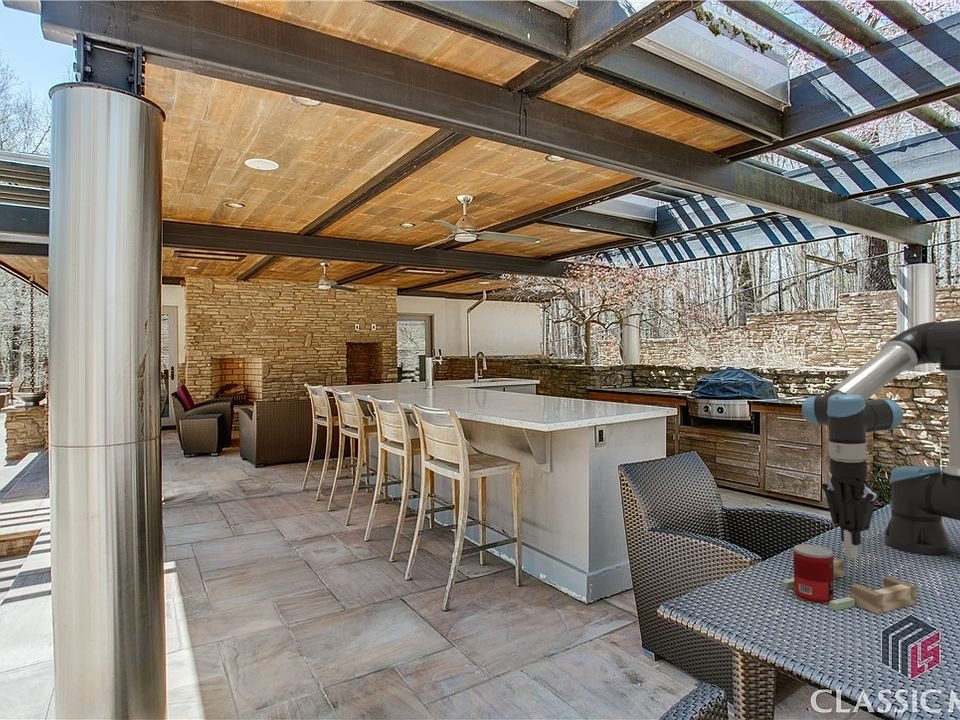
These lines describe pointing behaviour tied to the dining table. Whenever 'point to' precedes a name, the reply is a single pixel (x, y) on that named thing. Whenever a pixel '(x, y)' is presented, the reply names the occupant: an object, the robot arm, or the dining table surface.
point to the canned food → (813, 573)
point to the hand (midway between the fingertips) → (851, 556)
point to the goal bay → (833, 604)
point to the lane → (880, 593)
